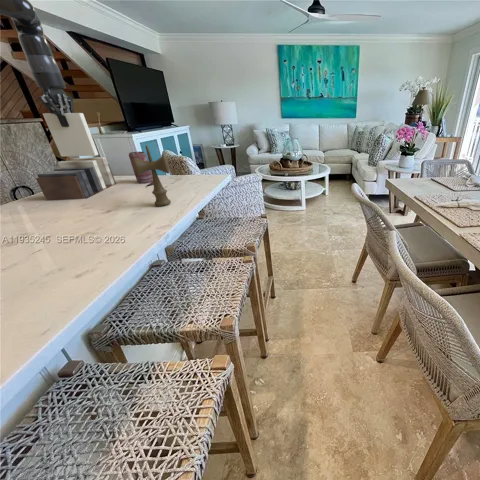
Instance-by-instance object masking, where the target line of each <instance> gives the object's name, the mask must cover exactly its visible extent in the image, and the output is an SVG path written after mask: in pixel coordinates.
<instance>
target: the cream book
mask: <svg viewBox="0 0 480 480" xmlns="http://www.w3.org/2000/svg"><path fill="white" fill-rule="evenodd" d="M42 116H43V118H44V121H45V123H46V125H47V127H48V130H49V132H50V134H51V136H52V139H53V141H54V144H55V145H56V146H55V147H56V148H57V150H58V153H59V155H60V157H90V156H91V157H93V156H94V157H97V156H98V155H99V152H98V150H97V147H96V144H95V142H94V138H93V135H92V134H91V131H90V128H89V125H88V122H87V119H86V117H85V115H84V113H83V112H74V113H64V116H66V119H67V121H68V124H69V127H62V126H61V124H60V122H59V120H58V117H57V116H56V115H55V114H51V113H50V112H44V113H43V112H42Z"/></svg>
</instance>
